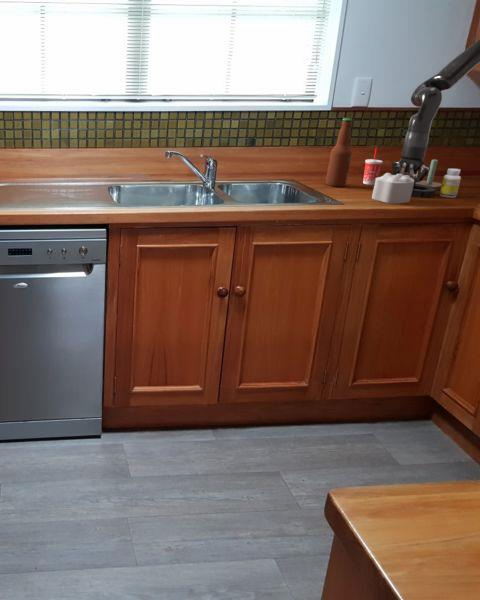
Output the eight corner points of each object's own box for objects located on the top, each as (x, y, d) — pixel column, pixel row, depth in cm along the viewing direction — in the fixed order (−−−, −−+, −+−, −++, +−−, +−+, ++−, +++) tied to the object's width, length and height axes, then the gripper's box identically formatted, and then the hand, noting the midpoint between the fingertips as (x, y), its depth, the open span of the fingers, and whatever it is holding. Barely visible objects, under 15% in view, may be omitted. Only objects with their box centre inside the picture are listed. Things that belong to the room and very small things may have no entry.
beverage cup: (374, 182, 242) (382, 146, 237) (380, 185, 237) (387, 149, 231) (358, 181, 243) (365, 146, 237) (363, 184, 237) (371, 148, 232)
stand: (445, 188, 234) (452, 160, 230) (433, 190, 229) (440, 162, 225) (422, 184, 241) (429, 157, 237) (410, 186, 236) (416, 159, 232)
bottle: (349, 186, 234) (362, 119, 224) (334, 187, 231) (347, 119, 221) (335, 182, 240) (347, 117, 230) (321, 183, 237) (332, 117, 228)
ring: (439, 195, 222) (441, 189, 221) (423, 199, 216) (425, 192, 215) (409, 189, 231) (411, 183, 230) (393, 192, 225) (394, 186, 224)
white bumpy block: (367, 197, 217) (372, 173, 213) (392, 194, 222) (397, 170, 219) (392, 204, 208) (398, 179, 205) (418, 201, 213) (423, 176, 210)
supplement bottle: (440, 193, 225) (447, 167, 221) (457, 196, 221) (464, 169, 218) (437, 196, 221) (444, 169, 217) (454, 198, 218) (461, 171, 214)
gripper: (440, 146, 217) (428, 194, 223) (402, 141, 227) (392, 187, 234) (429, 148, 213) (417, 196, 220) (391, 142, 223) (381, 189, 230)
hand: (404, 191), depth 227 cm, fingers open, 3 cm apart
